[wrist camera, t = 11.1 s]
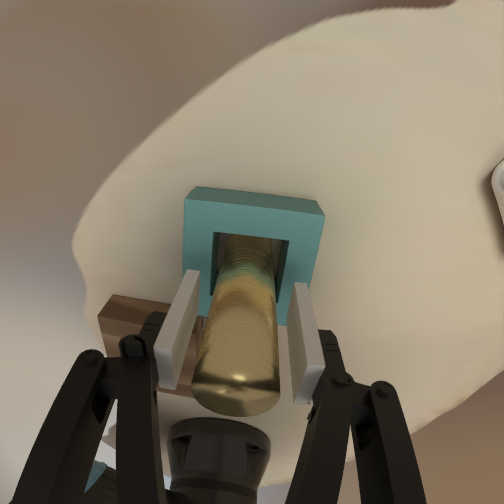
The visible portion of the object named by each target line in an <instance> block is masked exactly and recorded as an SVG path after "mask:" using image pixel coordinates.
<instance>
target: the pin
mask: <svg viewBox="0 0 504 504" xmlns="http://www.w3.org/2000/svg"><path fill="white" fill-rule="evenodd" d="M191 392H192V394H193V396H194V398H195V399H196V400H197V401H198V402H199V403H200V404H201V405H202V406H204V407H205V408H207V409H209V410H211V411H213V412H216V413H219V414H222V415H226V416H234V417H246V416H253V415H258V414H261V413H263V412H266V411H267V410H269V409H271V408H272V407H273V406H274V405H275V404H276V403H277V402H278V400H279V398H280V377H279V356H278V336H277V317H276V300H275V283H274V267H273V252H272V243H271V240H270V238H265V237H256V236H248V235H239V234H231V236H230V237H229V239H228V242H227V245H226V249H225V252H224V256H223V260H222V264H221V267H220V271H219V275H218V279H217V282H216V286H215V290H214V294H213V298H212V302H211V305H210V309H209V313H208V317H207V321H206V325H205V329H204V333H203V337H202V341H201V345H200V349H199V353H198V357H197V361H196V365H195V370H194V374H193V378H192V382H191Z"/></svg>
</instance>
